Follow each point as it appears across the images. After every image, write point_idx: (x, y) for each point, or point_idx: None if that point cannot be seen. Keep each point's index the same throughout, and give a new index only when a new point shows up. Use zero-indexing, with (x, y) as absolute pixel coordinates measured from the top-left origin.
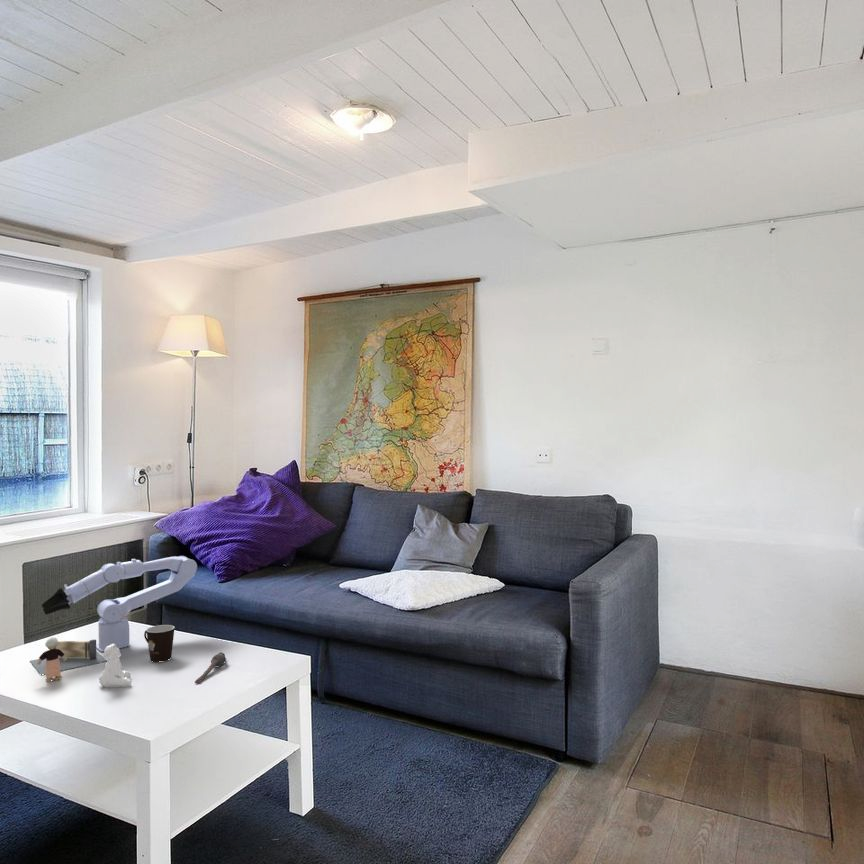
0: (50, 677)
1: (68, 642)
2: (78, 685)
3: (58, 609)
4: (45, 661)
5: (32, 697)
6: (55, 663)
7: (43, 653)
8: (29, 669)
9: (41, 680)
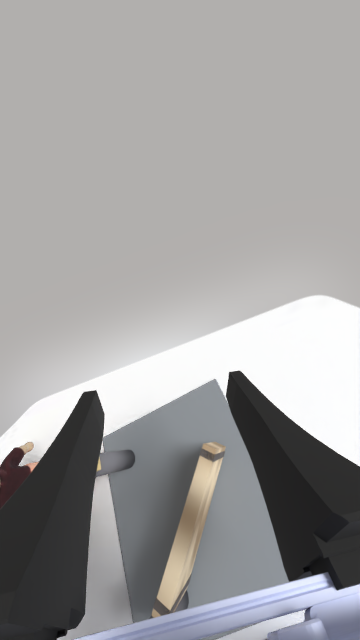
0: None
1: (183, 510)
2: None
3: (255, 471)
4: (197, 423)
5: (2, 450)
6: None
7: (3, 461)
8: (156, 397)
9: None
